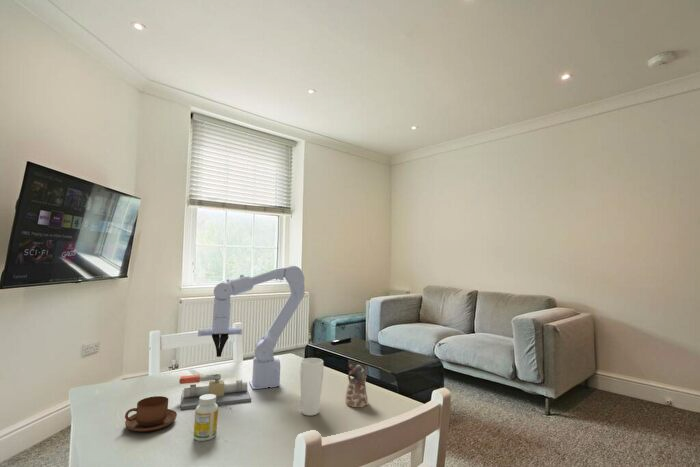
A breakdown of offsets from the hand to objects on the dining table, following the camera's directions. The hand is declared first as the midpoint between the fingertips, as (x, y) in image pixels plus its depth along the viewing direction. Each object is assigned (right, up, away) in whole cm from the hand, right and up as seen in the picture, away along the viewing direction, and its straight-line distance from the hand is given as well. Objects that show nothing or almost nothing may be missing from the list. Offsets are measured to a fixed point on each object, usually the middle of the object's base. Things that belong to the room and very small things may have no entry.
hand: (218, 356), depth 125 cm
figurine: (+48, -11, -11) cm, 51 cm away
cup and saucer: (-7, -8, -30) cm, 32 cm away
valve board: (+3, -10, -10) cm, 14 cm away
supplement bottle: (+10, -8, -36) cm, 38 cm away
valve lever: (-2, -4, -12) cm, 12 cm away
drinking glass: (+34, -10, -20) cm, 41 cm away
